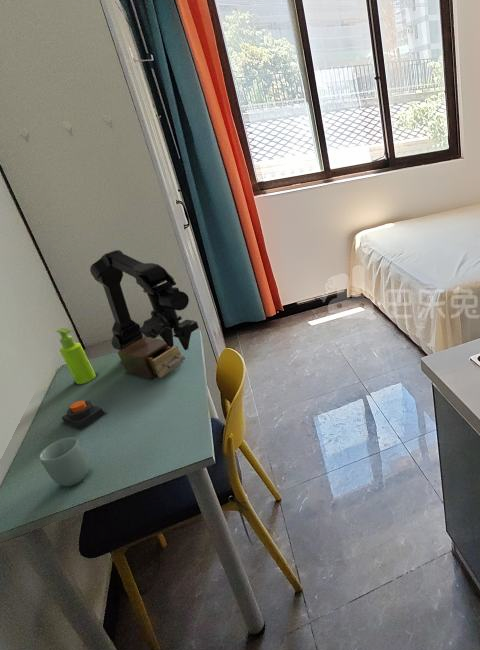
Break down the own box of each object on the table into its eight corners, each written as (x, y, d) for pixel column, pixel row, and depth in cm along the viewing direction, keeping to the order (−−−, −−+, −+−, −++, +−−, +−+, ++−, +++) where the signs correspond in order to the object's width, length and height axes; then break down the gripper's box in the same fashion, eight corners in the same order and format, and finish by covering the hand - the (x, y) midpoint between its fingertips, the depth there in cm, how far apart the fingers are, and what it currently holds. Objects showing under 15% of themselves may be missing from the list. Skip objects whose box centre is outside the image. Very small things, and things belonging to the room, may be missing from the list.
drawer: (192, 364, 153) (186, 347, 150) (169, 380, 146) (162, 362, 143) (160, 357, 160) (153, 341, 158) (136, 372, 153) (129, 355, 150)
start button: (70, 411, 131) (67, 406, 130) (82, 403, 134) (79, 399, 133) (77, 413, 130) (74, 409, 129) (89, 406, 133) (86, 401, 132)
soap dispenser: (84, 385, 150) (58, 335, 142) (72, 382, 153) (46, 332, 145) (101, 376, 155) (77, 326, 147) (89, 372, 158) (65, 323, 150)
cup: (75, 492, 106) (57, 461, 102) (49, 490, 108) (30, 459, 104) (101, 467, 113) (85, 437, 109) (76, 465, 115) (59, 436, 111)
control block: (64, 422, 133) (58, 412, 131) (87, 408, 138) (82, 397, 136) (82, 429, 129) (76, 418, 127) (105, 413, 134) (99, 403, 133)
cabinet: (177, 361, 158) (169, 341, 154) (152, 379, 149) (143, 357, 146) (152, 356, 164) (144, 336, 160) (126, 372, 155) (117, 351, 151)
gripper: (119, 314, 135) (138, 357, 141) (160, 320, 127) (178, 366, 133) (151, 298, 144) (167, 339, 150) (191, 303, 136) (206, 347, 142)
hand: (179, 348), depth 144 cm, fingers open, 7 cm apart
